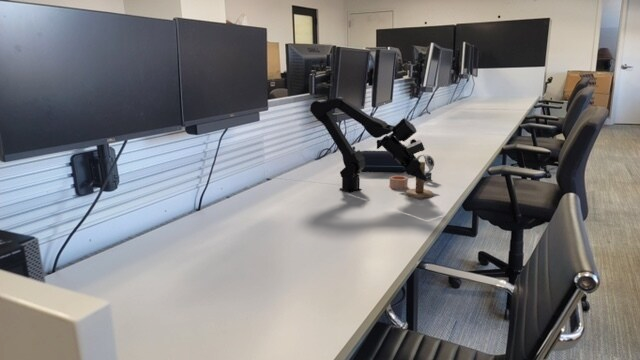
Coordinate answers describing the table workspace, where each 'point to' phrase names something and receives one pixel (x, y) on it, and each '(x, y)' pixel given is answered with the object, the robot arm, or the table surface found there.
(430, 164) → the watch
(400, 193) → the mat
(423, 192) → the lid
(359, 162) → the robot arm
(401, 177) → the bowl
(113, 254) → the table surface
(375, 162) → the portable speaker
